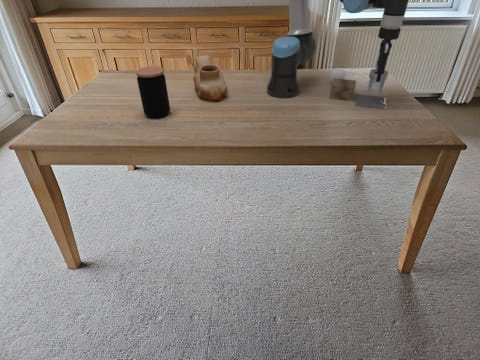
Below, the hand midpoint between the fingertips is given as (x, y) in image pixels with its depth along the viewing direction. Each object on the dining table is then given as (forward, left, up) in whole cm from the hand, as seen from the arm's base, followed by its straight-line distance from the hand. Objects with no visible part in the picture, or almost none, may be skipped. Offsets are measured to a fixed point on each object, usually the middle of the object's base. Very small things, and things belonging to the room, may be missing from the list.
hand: (375, 85), depth 132 cm
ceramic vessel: (-73, -12, -8) cm, 75 cm away
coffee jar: (-84, -41, -8) cm, 94 cm away
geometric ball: (-17, +19, -8) cm, 27 cm away
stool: (0, 0, -2) cm, 2 cm away
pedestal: (-13, +3, -7) cm, 15 cm away
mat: (0, 0, -7) cm, 7 cm away
